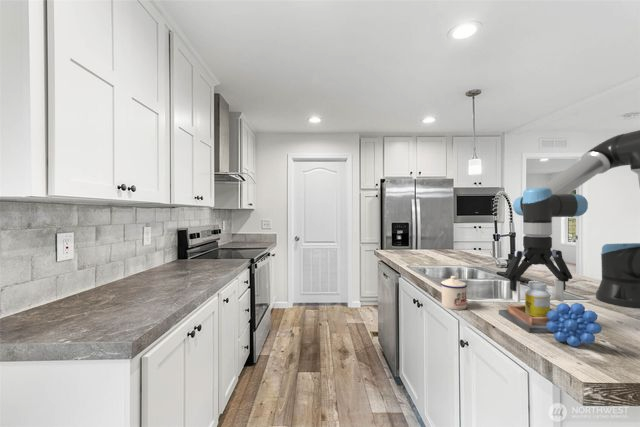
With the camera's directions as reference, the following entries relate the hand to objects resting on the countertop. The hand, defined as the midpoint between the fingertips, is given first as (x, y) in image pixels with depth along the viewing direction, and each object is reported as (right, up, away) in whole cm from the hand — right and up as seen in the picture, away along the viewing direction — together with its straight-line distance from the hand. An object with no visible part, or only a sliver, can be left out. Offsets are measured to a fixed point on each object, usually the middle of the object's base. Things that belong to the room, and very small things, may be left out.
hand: (537, 300), depth 95 cm
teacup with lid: (-18, -8, +18) cm, 27 cm away
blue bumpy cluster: (-2, -8, -16) cm, 17 cm away
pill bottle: (0, -6, 0) cm, 6 cm away
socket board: (0, -7, 0) cm, 7 cm away
